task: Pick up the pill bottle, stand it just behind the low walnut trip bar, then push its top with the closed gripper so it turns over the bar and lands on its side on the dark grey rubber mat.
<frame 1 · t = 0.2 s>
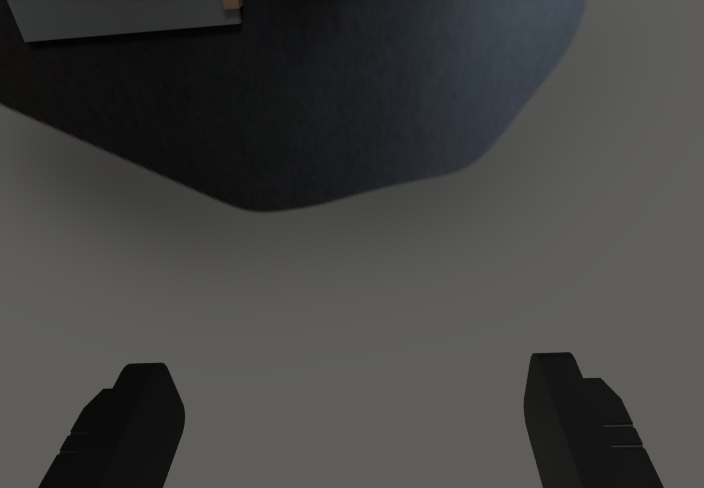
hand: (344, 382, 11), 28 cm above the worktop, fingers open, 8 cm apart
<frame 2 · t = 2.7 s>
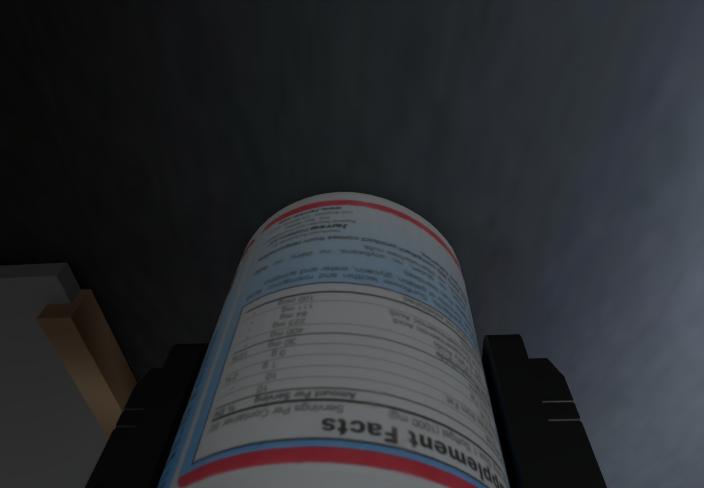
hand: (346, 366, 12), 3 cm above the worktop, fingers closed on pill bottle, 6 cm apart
pill bottle: (352, 273, 14), on the worktop, touching gripper
trip bar: (140, 417, 18), resting in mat
when the fingers open (4 cm above the worktop, at t = 8.0 s): pill bottle stays where it is, on the worktop.
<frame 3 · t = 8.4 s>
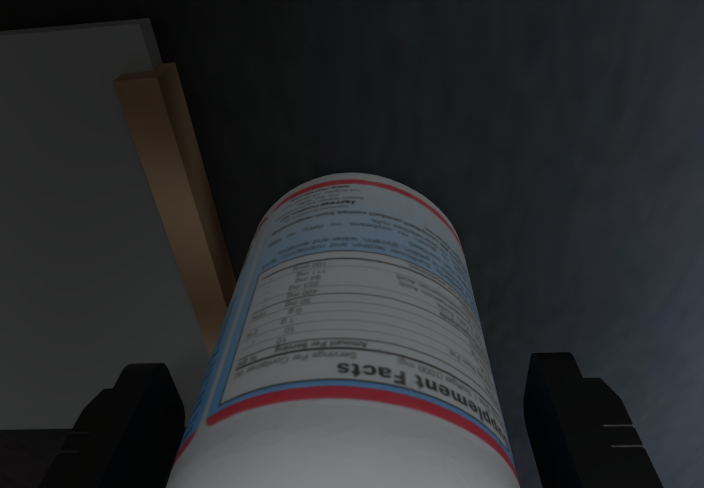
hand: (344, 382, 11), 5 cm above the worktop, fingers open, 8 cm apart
pill bottle: (358, 252, 15), on the worktop
trip bar: (215, 265, 15), resting in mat
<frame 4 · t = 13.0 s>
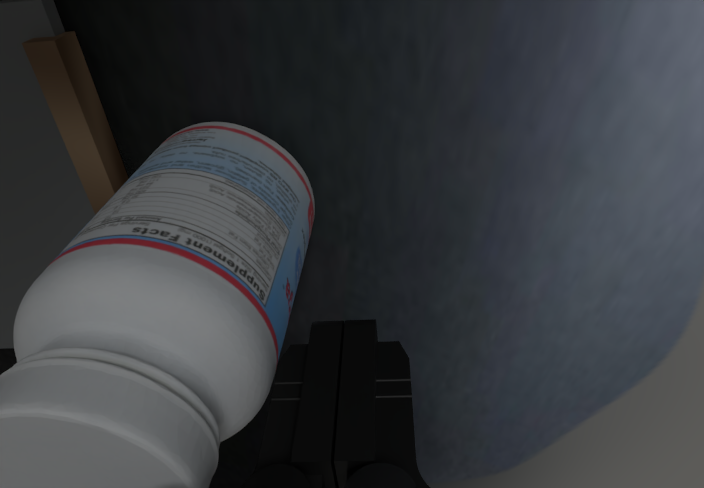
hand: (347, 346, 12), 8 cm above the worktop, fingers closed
pill bottle: (237, 191, 19), on the worktop, touching gripper
trip bar: (123, 200, 19), resting in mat
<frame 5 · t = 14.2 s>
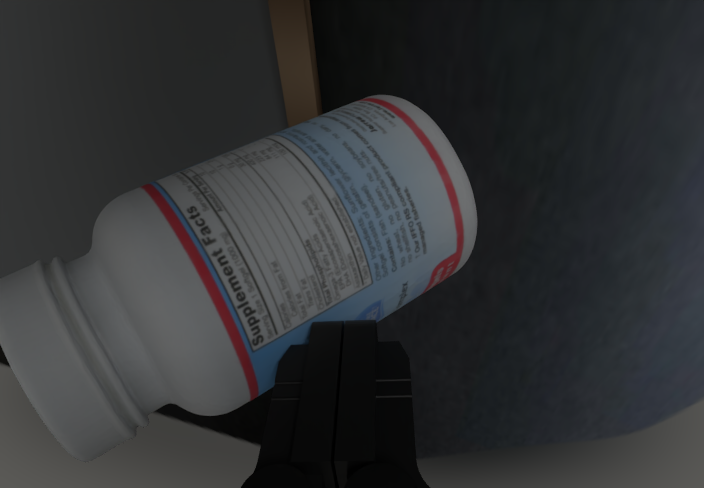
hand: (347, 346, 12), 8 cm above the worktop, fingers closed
pill bottle: (419, 181, 16), point 2 cm above the worktop, touching gripper, trip bar
trip bar: (311, 137, 18), resting in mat
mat: (115, 148, 19), on the worktop
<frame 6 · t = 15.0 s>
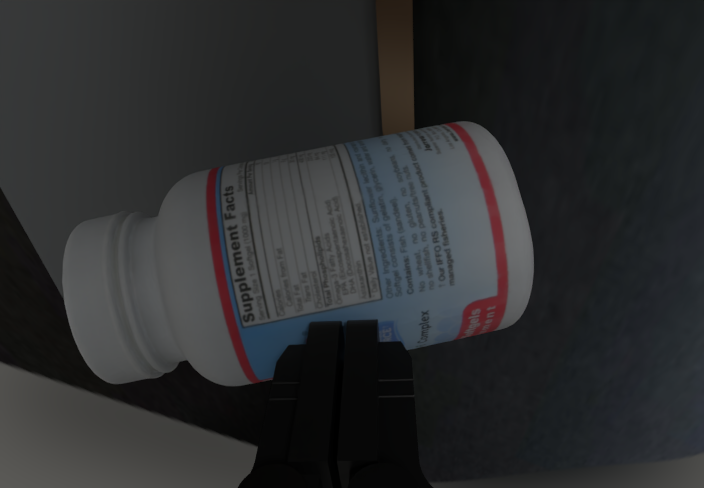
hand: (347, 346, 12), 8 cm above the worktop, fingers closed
pill bottle: (499, 220, 15), point 4 cm above the worktop, touching gripper, trip bar
trip bar: (399, 161, 18), resting in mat
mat: (200, 171, 19), on the worktop
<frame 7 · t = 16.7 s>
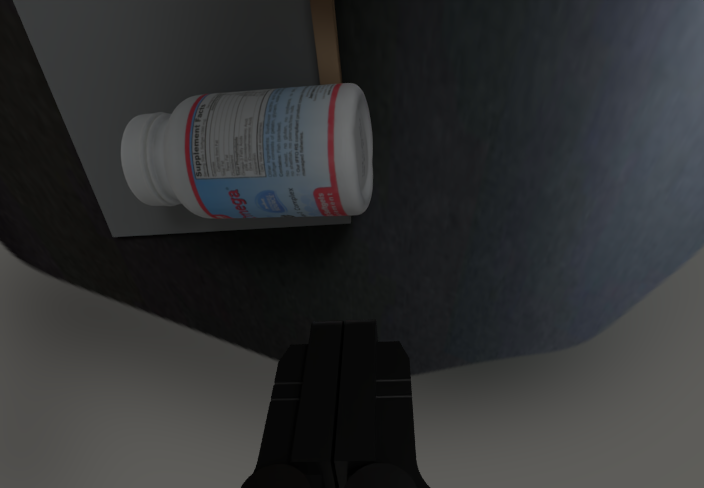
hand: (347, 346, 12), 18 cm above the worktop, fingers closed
pill bottle: (370, 149, 24), point 5 cm above the worktop, touching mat, trip bar
trip bar: (335, 106, 27), resting in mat
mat: (203, 116, 28), on the worktop
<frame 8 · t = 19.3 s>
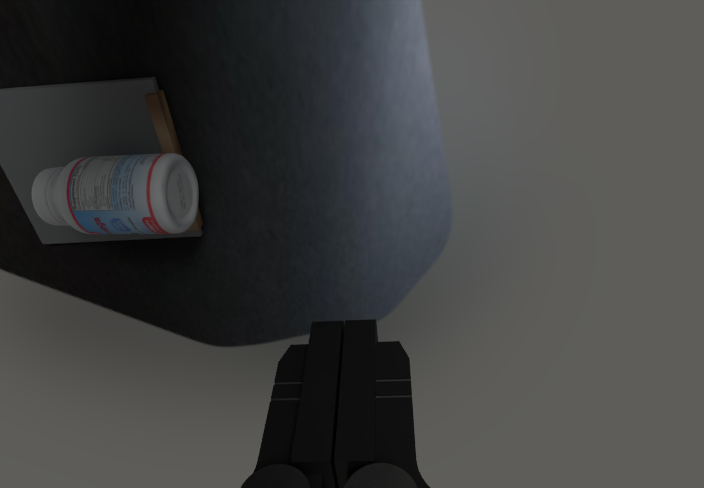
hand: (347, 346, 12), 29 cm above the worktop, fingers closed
pill bottle: (185, 193, 38), point 5 cm above the worktop, touching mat, trip bar
trip bar: (178, 162, 42), resting in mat
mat: (94, 167, 42), on the worktop
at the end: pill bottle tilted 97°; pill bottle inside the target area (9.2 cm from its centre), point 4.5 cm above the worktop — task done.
